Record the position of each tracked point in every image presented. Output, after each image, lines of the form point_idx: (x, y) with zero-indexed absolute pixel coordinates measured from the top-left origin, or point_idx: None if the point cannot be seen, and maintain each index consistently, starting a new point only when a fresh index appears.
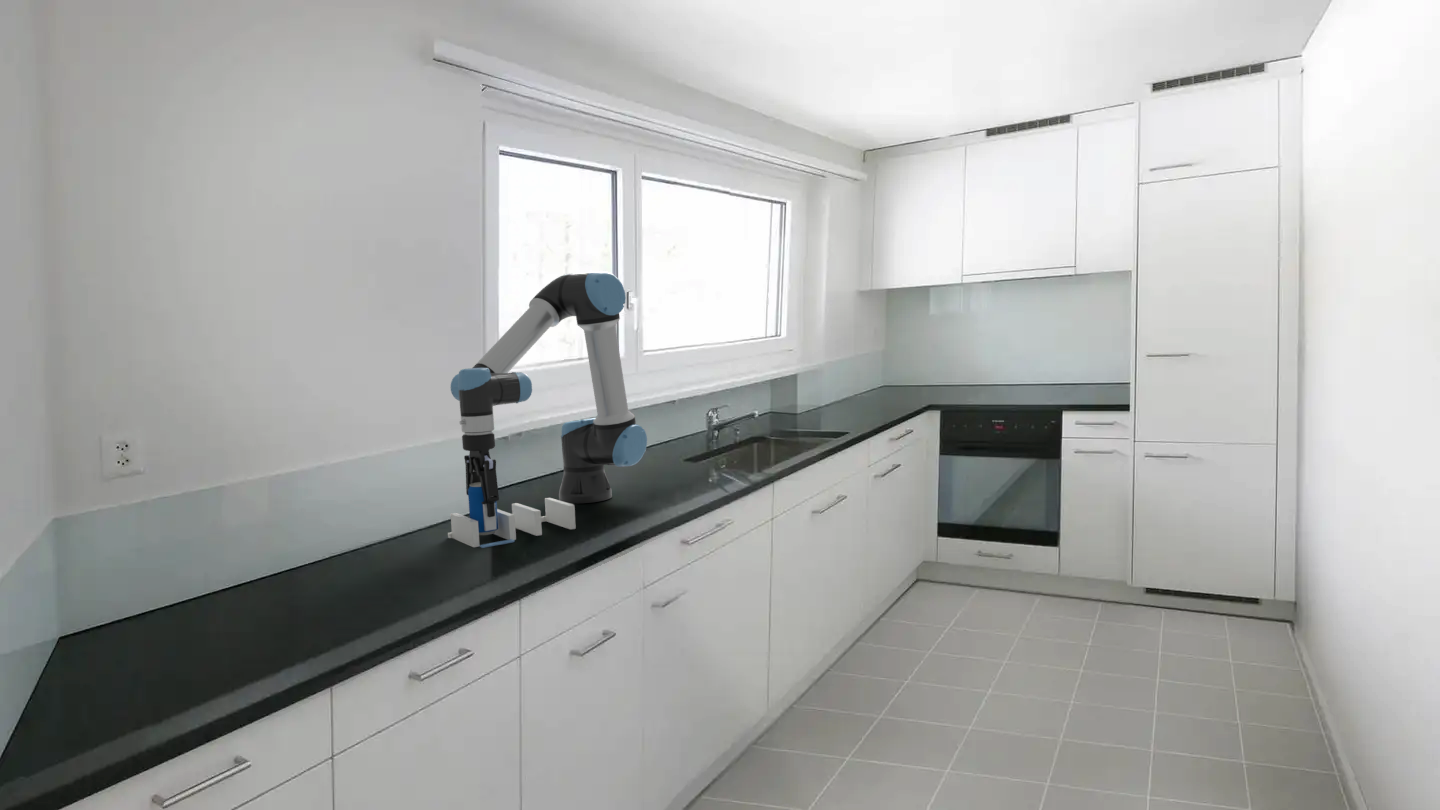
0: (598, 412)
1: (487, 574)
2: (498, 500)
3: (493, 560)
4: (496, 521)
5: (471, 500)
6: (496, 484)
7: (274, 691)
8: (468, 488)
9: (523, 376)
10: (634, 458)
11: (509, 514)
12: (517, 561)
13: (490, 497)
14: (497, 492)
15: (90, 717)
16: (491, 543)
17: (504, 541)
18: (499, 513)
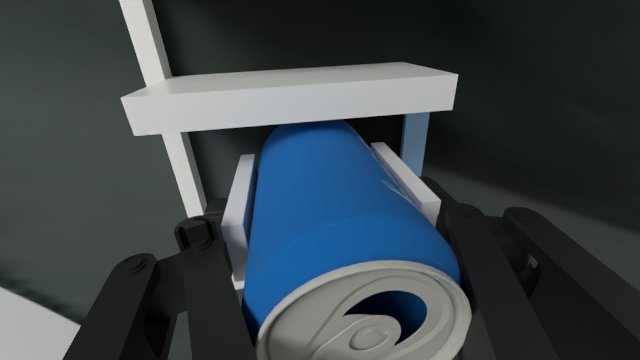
0: None
1: (627, 239)
2: (522, 208)
3: (554, 202)
4: (363, 140)
5: (361, 308)
6: (635, 300)
7: None
8: (167, 346)
9: None
10: None
11: (423, 92)
12: (620, 159)
13: (534, 270)
14: (573, 247)
15: None
16: (410, 162)
17: (420, 119)
18: (332, 118)
